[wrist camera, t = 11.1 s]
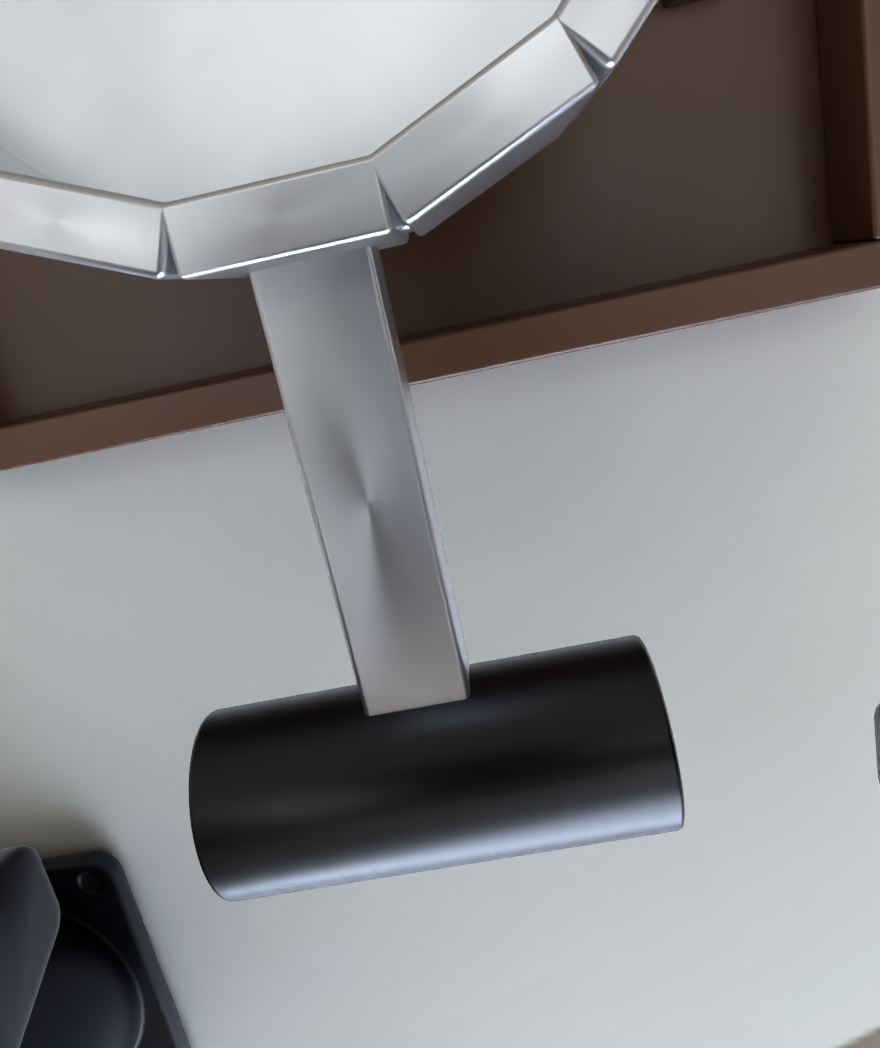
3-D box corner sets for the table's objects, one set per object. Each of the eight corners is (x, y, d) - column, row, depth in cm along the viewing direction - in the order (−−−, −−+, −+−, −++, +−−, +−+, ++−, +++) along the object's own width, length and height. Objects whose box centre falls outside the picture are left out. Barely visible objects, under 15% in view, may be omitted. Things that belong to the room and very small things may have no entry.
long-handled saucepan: (818, 728, 11) (928, 866, 8) (118, 845, 11) (23, 1005, 9) (652, -1243, 6) (794, -2338, 3) (-521, -820, 7) (-1096, -1463, 4)
